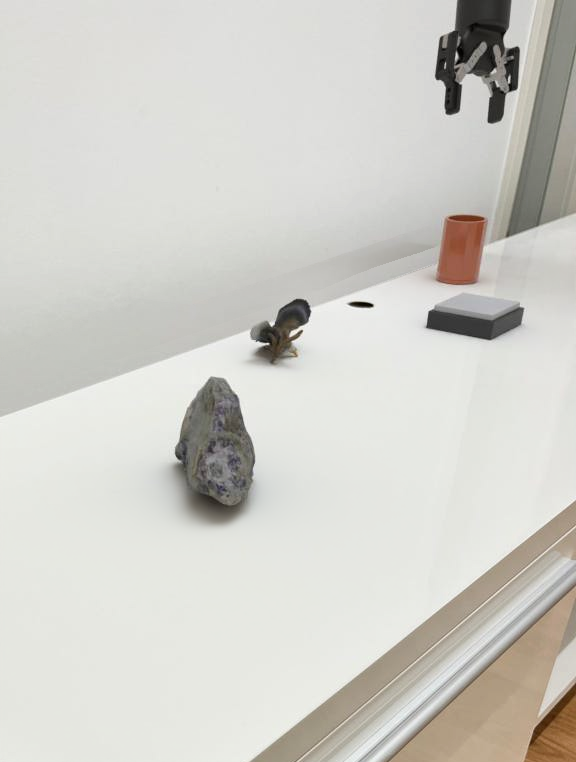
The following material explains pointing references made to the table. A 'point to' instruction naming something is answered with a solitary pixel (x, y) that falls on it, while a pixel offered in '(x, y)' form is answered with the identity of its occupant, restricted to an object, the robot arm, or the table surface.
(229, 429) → the mineral rock
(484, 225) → the cup
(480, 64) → the robot arm
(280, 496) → the table surface
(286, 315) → the grey-brown irregular figure
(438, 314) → the scale
